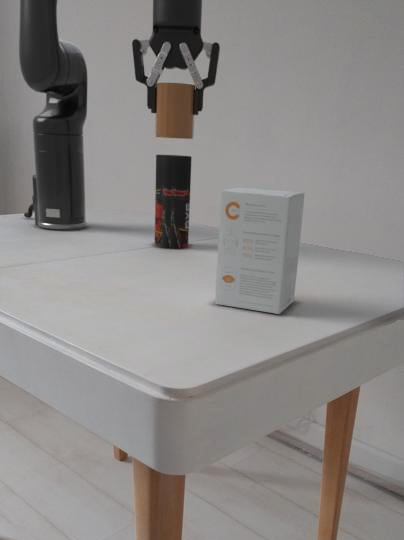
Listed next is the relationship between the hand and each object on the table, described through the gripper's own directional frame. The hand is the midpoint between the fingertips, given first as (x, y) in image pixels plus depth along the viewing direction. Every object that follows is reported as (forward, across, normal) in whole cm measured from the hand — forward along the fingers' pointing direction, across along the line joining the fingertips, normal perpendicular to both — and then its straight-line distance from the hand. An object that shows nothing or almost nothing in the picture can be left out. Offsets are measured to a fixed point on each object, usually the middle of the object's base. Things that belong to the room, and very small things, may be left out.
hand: (174, 113), depth 92 cm
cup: (+4, 0, 0) cm, 4 cm away
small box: (+22, -14, +34) cm, 43 cm away
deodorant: (+22, 0, 0) cm, 22 cm away
